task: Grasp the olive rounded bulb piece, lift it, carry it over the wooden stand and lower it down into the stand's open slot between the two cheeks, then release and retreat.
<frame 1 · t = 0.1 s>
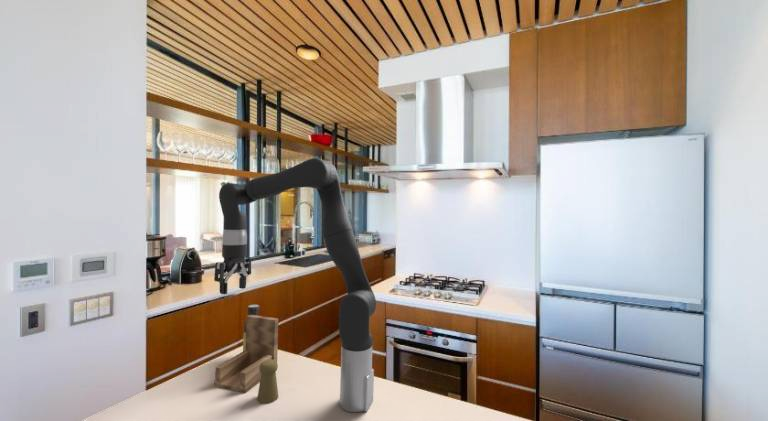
hand: (233, 291, 107), 29 cm above the countertop, fingers open, 8 cm apart
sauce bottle: (251, 358, 122), on the countertop
olive rounded bulb piece: (267, 398, 96), on the countertop
wooden stand: (241, 381, 105), on the countertop
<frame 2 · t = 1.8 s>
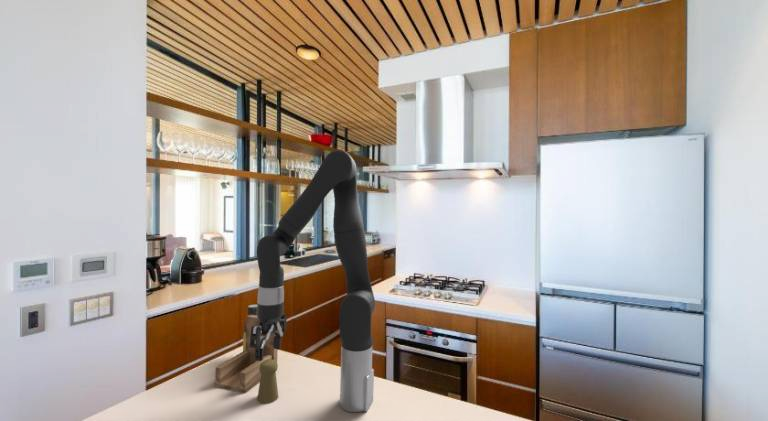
hand: (268, 354, 96), 13 cm above the countertop, fingers open, 8 cm apart
nothing on the countertop moved.
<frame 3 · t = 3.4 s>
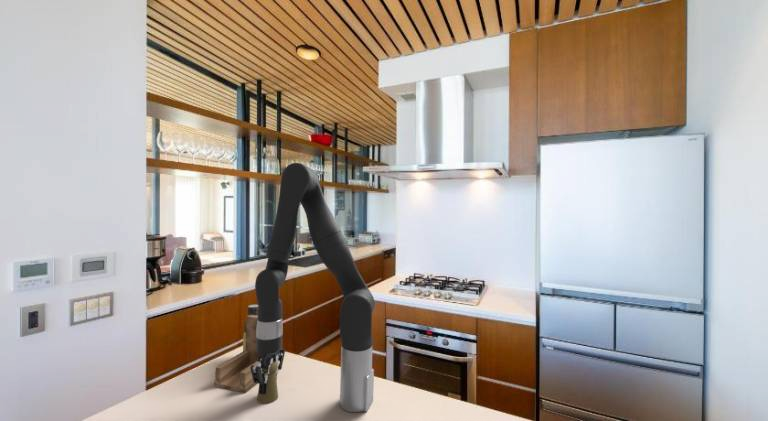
hand: (268, 390, 96), 2 cm above the countertop, fingers closed on olive rounded bulb piece, 4 cm apart
olive rounded bulb piece: (267, 398, 96), on the countertop, touching gripper
everything else where it was.
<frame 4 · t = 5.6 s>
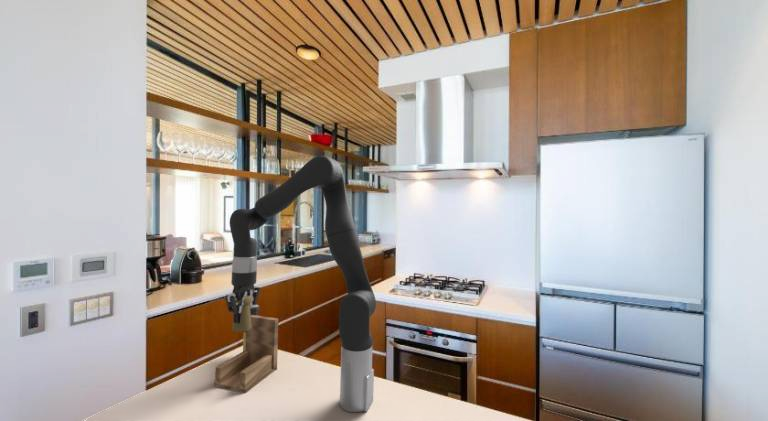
hand: (242, 321, 105), 20 cm above the countertop, fingers closed on olive rounded bulb piece, 4 cm apart
olive rounded bulb piece: (241, 329, 105), point 17 cm above the countertop, touching gripper
everything else where it was.
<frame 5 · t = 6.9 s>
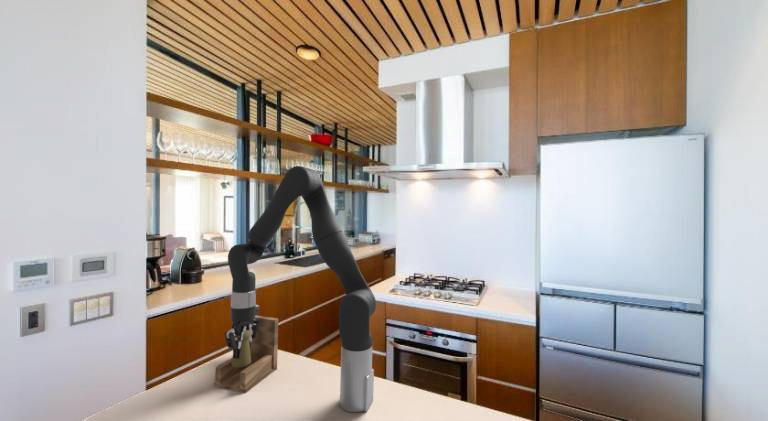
hand: (241, 356, 105), 8 cm above the countertop, fingers closed on olive rounded bulb piece, 4 cm apart
olive rounded bulb piece: (241, 363, 105), point 6 cm above the countertop, touching gripper
everything else where it was.
when the fingers open (5 cm above the countertop, at t = 7.8 s): olive rounded bulb piece stays where it is, resting on wooden stand.
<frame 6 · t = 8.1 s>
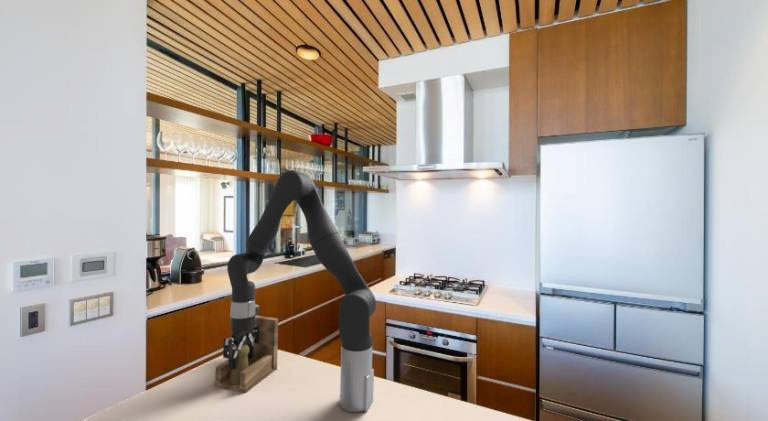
hand: (241, 363, 105), 6 cm above the countertop, fingers open, 7 cm apart
olive rounded bulb piece: (239, 380, 104), point 1 cm above the countertop, touching wooden stand
everything else where it was.
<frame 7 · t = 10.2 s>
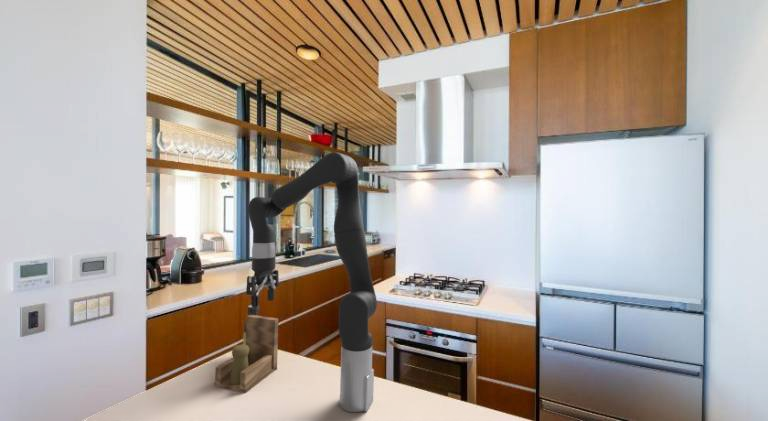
hand: (263, 303, 108), 25 cm above the countertop, fingers open, 8 cm apart
nothing on the countertop moved.
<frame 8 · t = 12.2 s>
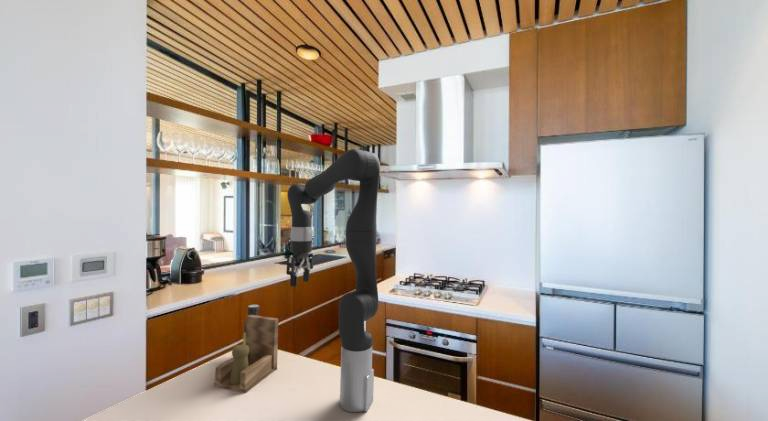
hand: (300, 283, 116), 30 cm above the countertop, fingers open, 8 cm apart
nothing on the countertop moved.
at the end: olive rounded bulb piece inside the target area on the wooden stand (1.3 cm from its centre), point 0.8 cm above the wooden stand's base; olive rounded bulb piece tilted 0°; the gripper is holding nothing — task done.
